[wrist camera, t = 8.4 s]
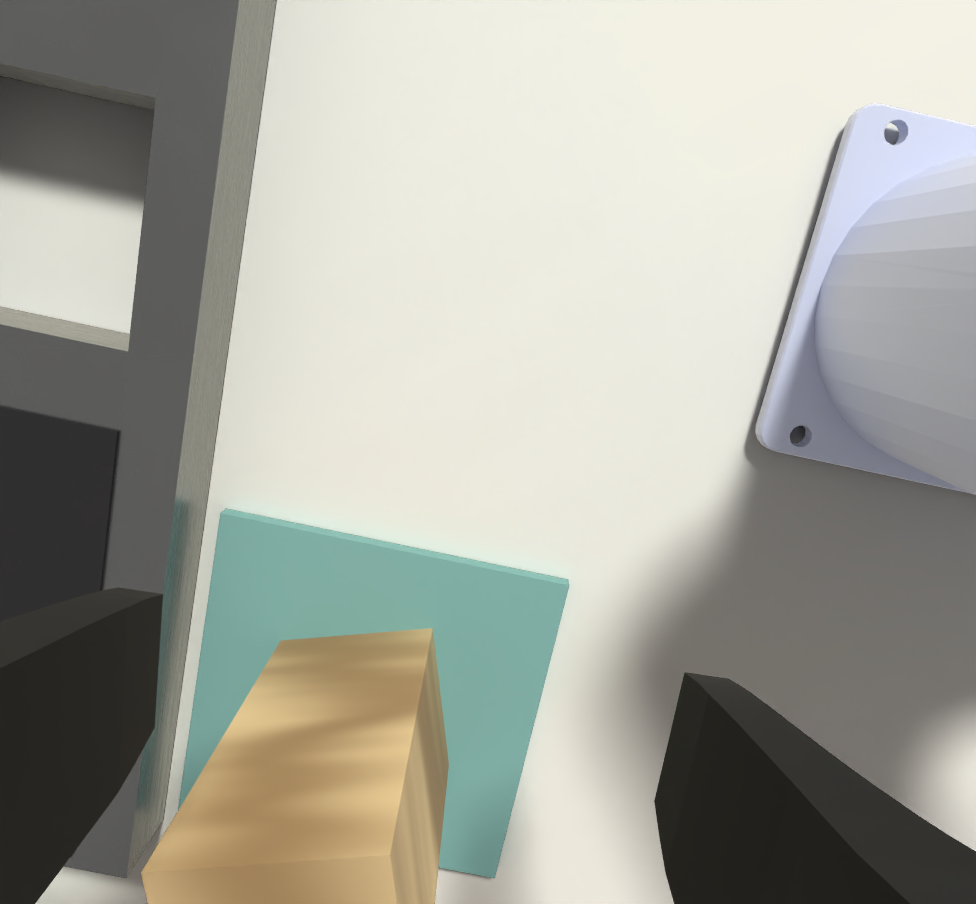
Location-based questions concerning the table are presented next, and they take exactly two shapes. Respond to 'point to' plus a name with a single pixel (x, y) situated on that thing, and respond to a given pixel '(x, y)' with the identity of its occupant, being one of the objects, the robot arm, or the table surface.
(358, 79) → the table surface
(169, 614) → the rack frame
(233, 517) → the teal mat
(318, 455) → the table surface
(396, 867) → the oak peg
